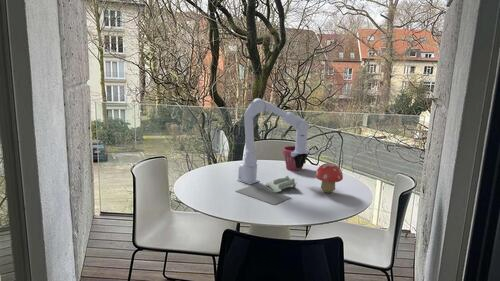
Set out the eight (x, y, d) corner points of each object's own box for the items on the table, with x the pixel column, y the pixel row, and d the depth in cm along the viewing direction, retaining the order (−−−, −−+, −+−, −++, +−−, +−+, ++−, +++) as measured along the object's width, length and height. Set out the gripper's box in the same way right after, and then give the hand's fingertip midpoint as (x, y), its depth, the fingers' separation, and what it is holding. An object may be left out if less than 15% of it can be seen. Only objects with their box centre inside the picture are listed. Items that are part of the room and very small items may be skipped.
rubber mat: (235, 191, 183) (235, 190, 183) (253, 185, 193) (253, 185, 193) (274, 205, 168) (274, 204, 168) (291, 198, 177) (291, 197, 177)
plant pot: (279, 170, 222) (280, 149, 219) (284, 164, 235) (285, 144, 232) (303, 173, 218) (305, 152, 215) (307, 167, 231) (308, 147, 228)
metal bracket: (288, 172, 198) (299, 180, 184) (290, 182, 199) (302, 191, 185) (263, 181, 195) (272, 189, 181) (265, 191, 196) (275, 200, 182)
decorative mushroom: (321, 198, 179) (323, 167, 176) (309, 188, 191) (311, 160, 188) (346, 196, 182) (349, 166, 179) (333, 187, 195) (335, 159, 192)
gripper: (299, 145, 188) (297, 171, 191) (315, 142, 199) (313, 166, 202) (288, 143, 193) (286, 168, 195) (303, 139, 203) (302, 163, 206)
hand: (299, 167), depth 199 cm, fingers closed
